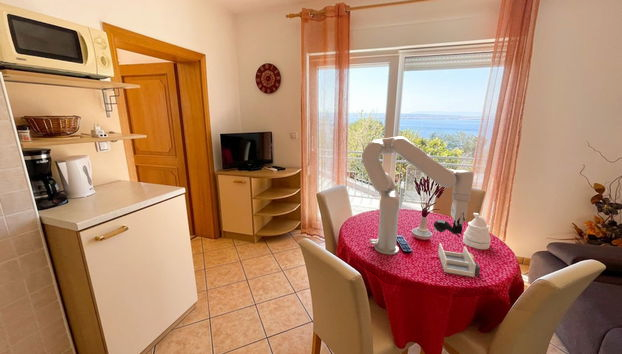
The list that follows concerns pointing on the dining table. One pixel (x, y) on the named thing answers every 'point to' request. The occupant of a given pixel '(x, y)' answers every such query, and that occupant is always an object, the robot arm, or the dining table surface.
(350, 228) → the dining table surface
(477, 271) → the grey flat block
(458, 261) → the two-cubby white shelf
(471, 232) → the honey pot
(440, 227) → the power plug
